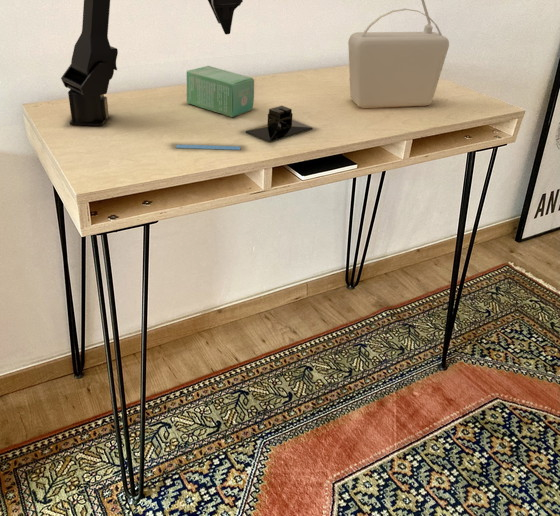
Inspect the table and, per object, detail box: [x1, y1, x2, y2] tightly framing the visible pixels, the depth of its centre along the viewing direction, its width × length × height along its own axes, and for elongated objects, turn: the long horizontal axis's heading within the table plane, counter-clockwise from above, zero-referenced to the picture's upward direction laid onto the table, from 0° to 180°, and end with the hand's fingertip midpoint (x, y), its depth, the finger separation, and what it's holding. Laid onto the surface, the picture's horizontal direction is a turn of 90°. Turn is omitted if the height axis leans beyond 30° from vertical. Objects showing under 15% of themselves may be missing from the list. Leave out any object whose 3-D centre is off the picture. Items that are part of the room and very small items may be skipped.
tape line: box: [175, 144, 241, 151], centre depth 118 cm, size 12×2×1 cm, turn 92°
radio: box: [347, 0, 450, 109], centre depth 140 cm, size 22×8×25 cm, turn 104°
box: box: [186, 65, 255, 118], centre depth 136 cm, size 7×14×8 cm, turn 54°
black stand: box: [245, 105, 313, 144], centre depth 126 cm, size 12×7×5 cm, turn 134°
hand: (224, 28), depth 140 cm, fingers open, 9 cm apart
